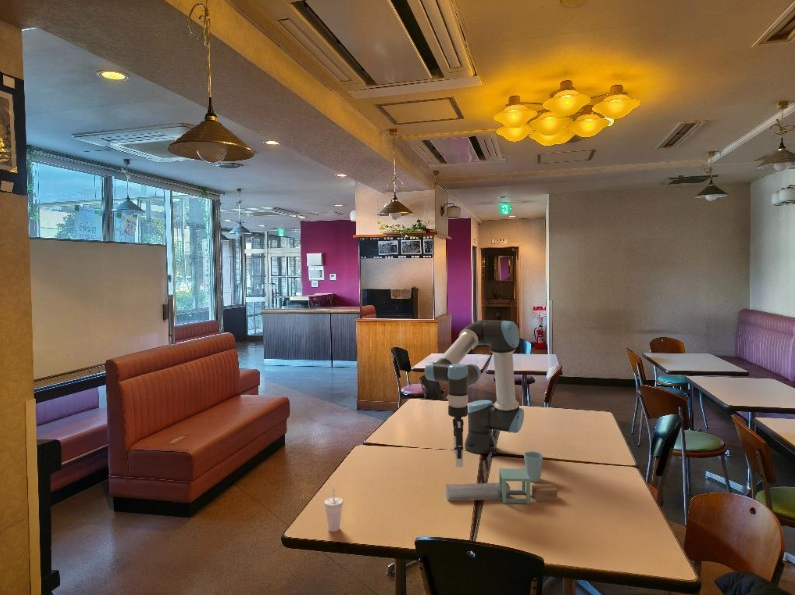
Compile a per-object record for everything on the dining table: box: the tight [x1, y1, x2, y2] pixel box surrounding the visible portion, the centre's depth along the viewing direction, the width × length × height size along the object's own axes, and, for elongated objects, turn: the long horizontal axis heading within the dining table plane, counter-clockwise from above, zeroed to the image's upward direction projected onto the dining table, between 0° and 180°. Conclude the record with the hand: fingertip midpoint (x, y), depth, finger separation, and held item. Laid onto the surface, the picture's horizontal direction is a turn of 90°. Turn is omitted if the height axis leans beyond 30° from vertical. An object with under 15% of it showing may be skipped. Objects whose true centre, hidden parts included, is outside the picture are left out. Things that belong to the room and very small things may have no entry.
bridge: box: [498, 467, 531, 505], centre depth 199 cm, size 10×10×10 cm
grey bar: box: [445, 482, 511, 502], centre depth 200 cm, size 4×24×5 cm, turn 93°
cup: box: [523, 451, 544, 483], centre depth 217 cm, size 8×8×10 cm
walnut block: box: [531, 483, 558, 503], centre depth 199 cm, size 5×8×4 cm, turn 93°
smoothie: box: [323, 487, 344, 533], centre depth 177 cm, size 6×6×14 cm
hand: (458, 459), depth 200 cm, fingers open, 13 cm apart
